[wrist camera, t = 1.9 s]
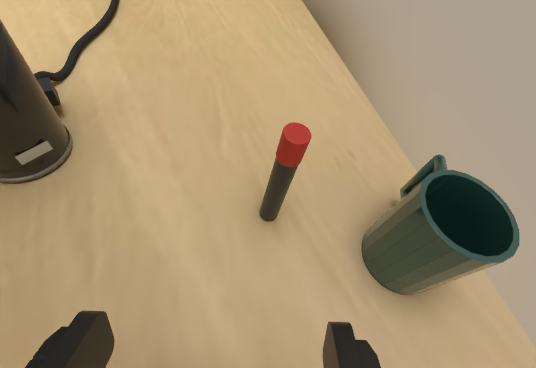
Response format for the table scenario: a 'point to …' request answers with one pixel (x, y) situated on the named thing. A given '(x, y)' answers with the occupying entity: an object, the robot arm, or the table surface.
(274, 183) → the marker
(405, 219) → the mug
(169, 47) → the table surface
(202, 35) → the table surface
